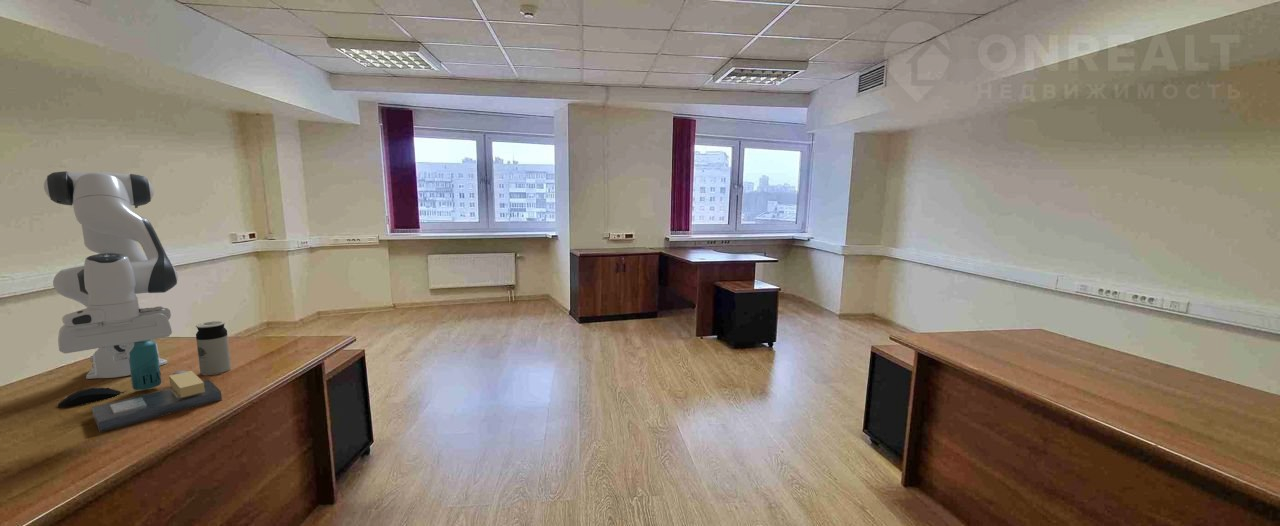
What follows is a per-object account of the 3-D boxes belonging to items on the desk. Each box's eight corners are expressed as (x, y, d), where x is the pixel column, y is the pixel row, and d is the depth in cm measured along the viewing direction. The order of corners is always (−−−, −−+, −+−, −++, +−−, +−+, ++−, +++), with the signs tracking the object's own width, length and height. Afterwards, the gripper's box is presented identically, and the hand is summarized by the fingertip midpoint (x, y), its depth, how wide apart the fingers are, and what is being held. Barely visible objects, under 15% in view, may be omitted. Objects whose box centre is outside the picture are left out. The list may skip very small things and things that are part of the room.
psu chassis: (92, 413, 124) (90, 402, 123) (207, 385, 144) (206, 375, 143) (99, 432, 114) (98, 420, 114) (221, 399, 134) (220, 389, 134)
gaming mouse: (135, 394, 137) (134, 382, 137) (58, 411, 125) (56, 398, 125) (134, 388, 141) (132, 377, 140) (58, 404, 129) (56, 392, 129)
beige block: (168, 382, 136) (167, 373, 136) (190, 377, 140) (189, 368, 140) (181, 397, 127) (180, 388, 126) (204, 391, 131) (203, 382, 130)
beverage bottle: (142, 395, 135) (133, 335, 133) (126, 393, 137) (117, 333, 134) (168, 387, 142) (160, 329, 139) (153, 385, 143) (145, 327, 140)
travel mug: (226, 365, 161) (221, 319, 158) (234, 370, 157) (229, 322, 154) (197, 372, 154) (191, 324, 151) (204, 377, 150) (199, 328, 147)
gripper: (167, 303, 129) (172, 347, 131) (53, 317, 112) (61, 367, 114) (171, 306, 126) (177, 351, 128) (54, 321, 109) (63, 373, 111)
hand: (121, 359), depth 121 cm, fingers closed
